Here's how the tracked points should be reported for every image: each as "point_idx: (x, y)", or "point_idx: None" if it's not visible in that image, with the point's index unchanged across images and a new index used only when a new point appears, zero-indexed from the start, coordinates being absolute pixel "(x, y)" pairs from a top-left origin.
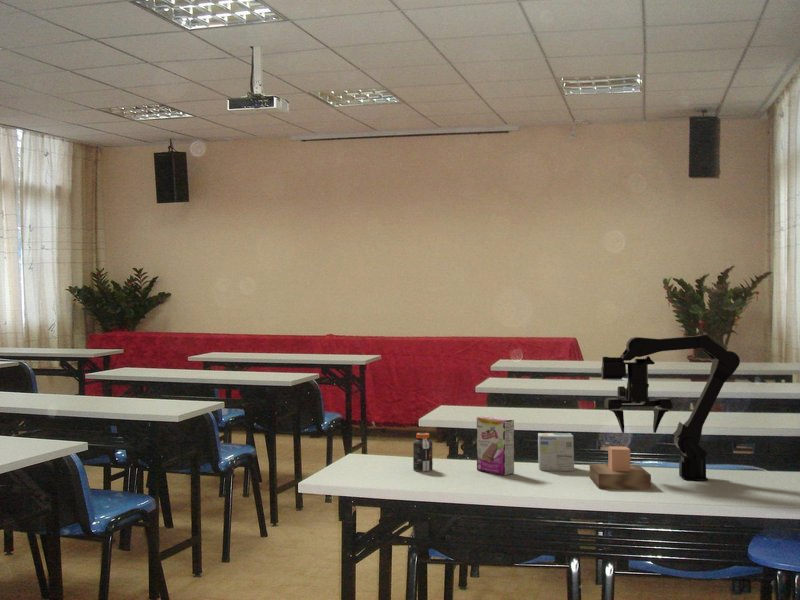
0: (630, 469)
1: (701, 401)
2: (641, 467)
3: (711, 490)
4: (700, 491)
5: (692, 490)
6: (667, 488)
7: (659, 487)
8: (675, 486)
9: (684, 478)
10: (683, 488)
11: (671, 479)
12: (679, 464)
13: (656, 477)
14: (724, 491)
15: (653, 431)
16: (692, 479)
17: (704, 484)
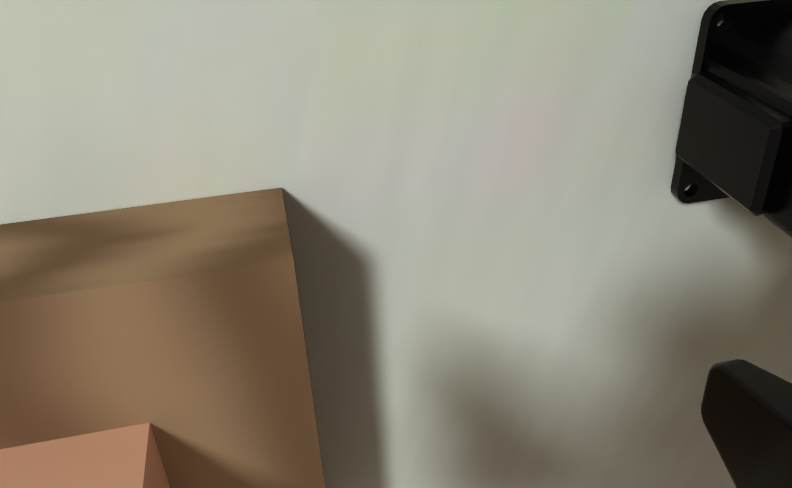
0: (189, 482)
1: None
2: (306, 383)
3: (690, 429)
4: (615, 466)
5: (579, 456)
6: (441, 449)
7: (395, 437)
8: (514, 387)
9: (677, 176)
10: (545, 424)
11: (572, 166)
12: (748, 129)
13: (466, 103)
14: None
15: (720, 381)
16: (724, 193)
17: (738, 288)
